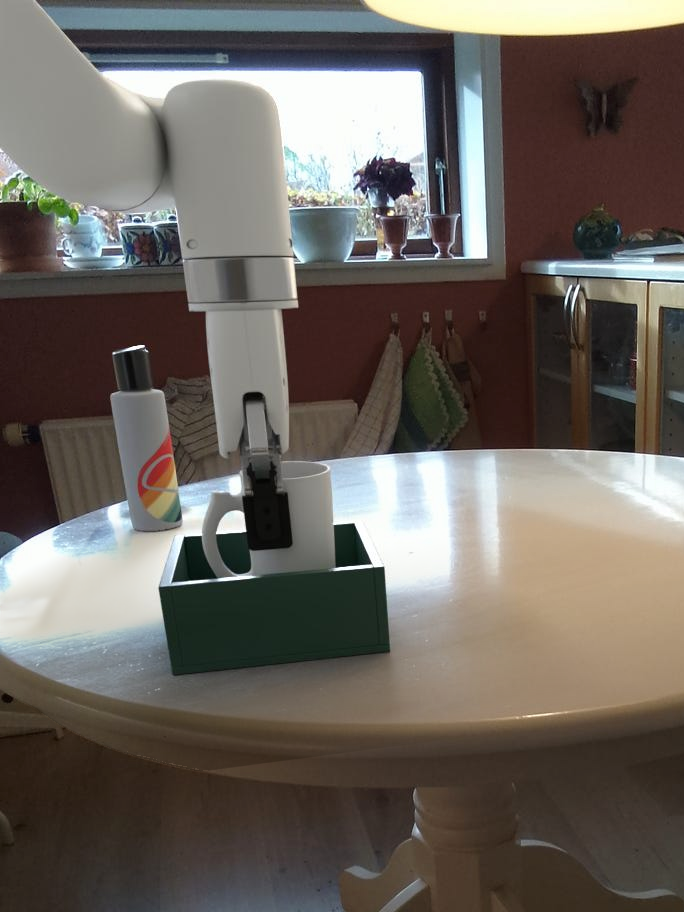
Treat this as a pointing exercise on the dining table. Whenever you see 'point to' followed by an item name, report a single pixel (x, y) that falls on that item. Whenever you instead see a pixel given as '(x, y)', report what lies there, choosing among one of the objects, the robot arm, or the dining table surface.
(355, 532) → the bin
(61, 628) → the dining table surface
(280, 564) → the mug
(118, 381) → the lotion bottle
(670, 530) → the dining table surface
